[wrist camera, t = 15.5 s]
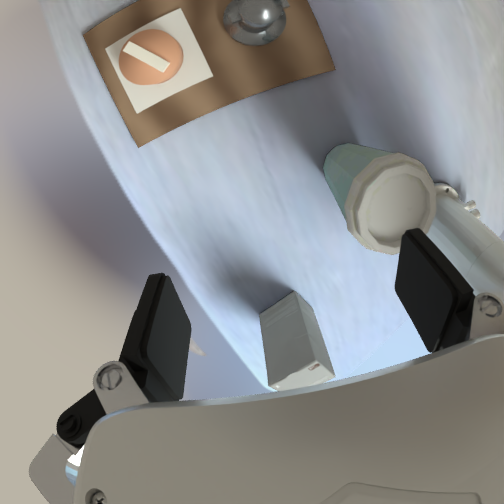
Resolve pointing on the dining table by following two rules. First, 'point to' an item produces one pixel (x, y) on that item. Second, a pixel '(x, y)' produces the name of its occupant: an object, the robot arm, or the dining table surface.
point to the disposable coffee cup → (380, 194)
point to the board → (211, 61)
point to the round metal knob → (255, 20)
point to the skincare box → (294, 345)
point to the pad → (187, 75)
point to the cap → (150, 57)
